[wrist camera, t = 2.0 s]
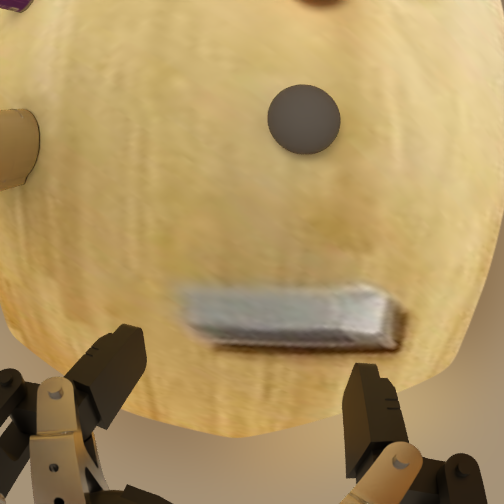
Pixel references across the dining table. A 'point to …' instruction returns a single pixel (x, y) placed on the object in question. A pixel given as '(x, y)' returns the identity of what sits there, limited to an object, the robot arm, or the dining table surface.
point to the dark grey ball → (303, 119)
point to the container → (15, 5)
